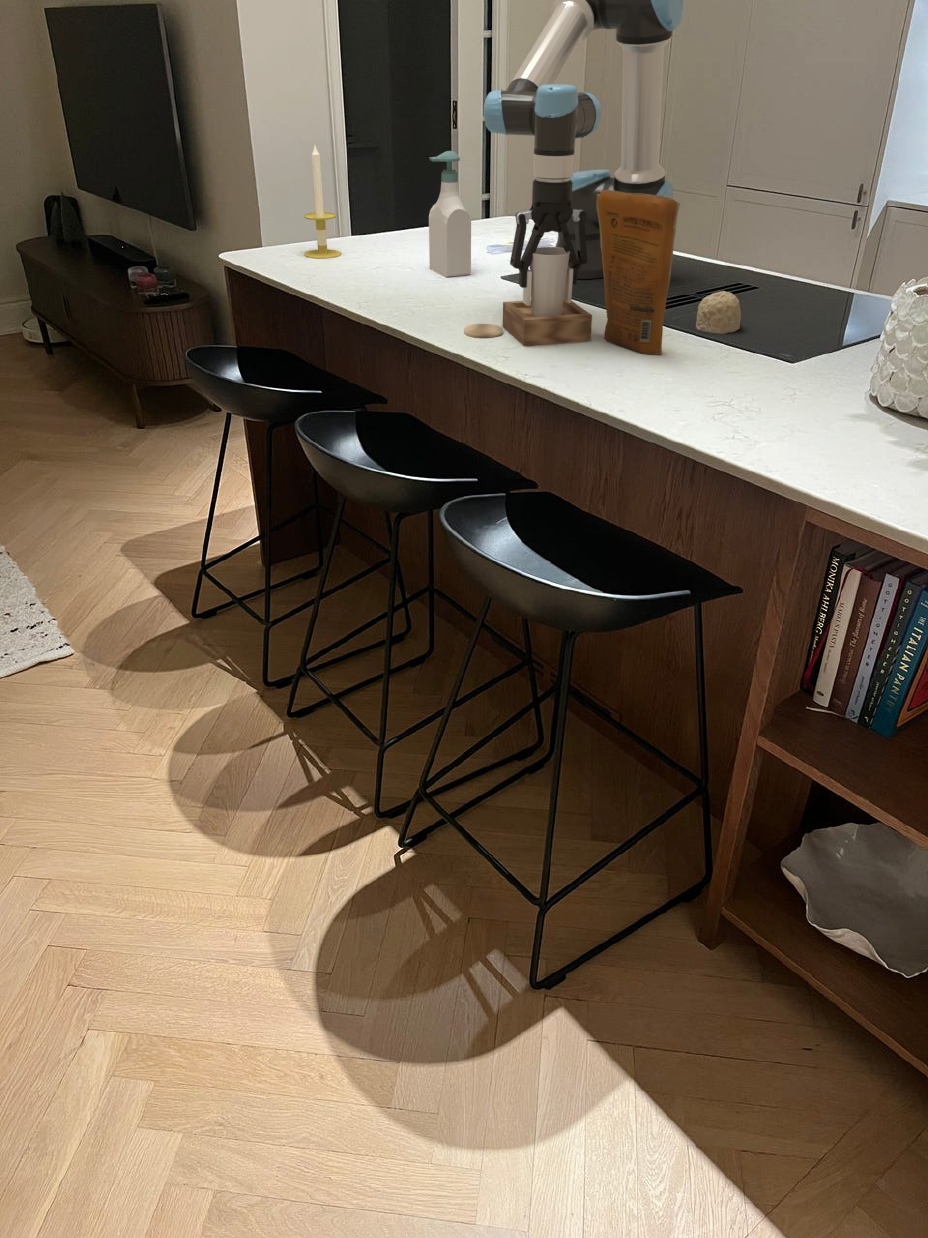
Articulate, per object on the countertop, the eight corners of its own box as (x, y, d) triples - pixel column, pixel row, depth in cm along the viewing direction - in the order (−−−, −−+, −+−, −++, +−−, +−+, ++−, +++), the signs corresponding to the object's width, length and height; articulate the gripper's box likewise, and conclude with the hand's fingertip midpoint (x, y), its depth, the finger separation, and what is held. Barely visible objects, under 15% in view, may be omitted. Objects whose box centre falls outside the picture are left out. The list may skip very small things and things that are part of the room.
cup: (564, 319, 190) (567, 256, 183) (524, 317, 191) (526, 254, 185) (568, 309, 196) (572, 247, 190) (529, 307, 198) (532, 245, 191)
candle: (349, 253, 259) (342, 142, 244) (325, 260, 252) (317, 146, 237) (320, 248, 263) (312, 139, 249) (296, 255, 256) (286, 143, 242)
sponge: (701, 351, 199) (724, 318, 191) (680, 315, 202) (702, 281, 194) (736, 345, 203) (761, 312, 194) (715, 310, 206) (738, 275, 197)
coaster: (496, 325, 201) (496, 322, 200) (508, 336, 194) (508, 333, 194) (459, 328, 199) (459, 325, 198) (469, 339, 192) (469, 336, 192)
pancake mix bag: (649, 360, 181) (666, 200, 166) (583, 336, 194) (594, 186, 179) (675, 354, 184) (694, 197, 169) (608, 331, 197) (621, 182, 182)
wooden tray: (565, 321, 203) (567, 297, 200) (590, 340, 192) (592, 314, 189) (502, 326, 200) (503, 301, 197) (523, 345, 189) (524, 319, 186)
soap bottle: (423, 268, 244) (420, 149, 229) (452, 265, 247) (452, 147, 232) (440, 278, 235) (439, 154, 220) (470, 275, 238) (471, 152, 223)
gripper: (596, 173, 186) (588, 294, 198) (494, 177, 181) (492, 301, 193) (612, 179, 180) (602, 303, 192) (506, 183, 175) (503, 310, 187)
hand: (546, 302), depth 193 cm, fingers open, 8 cm apart
